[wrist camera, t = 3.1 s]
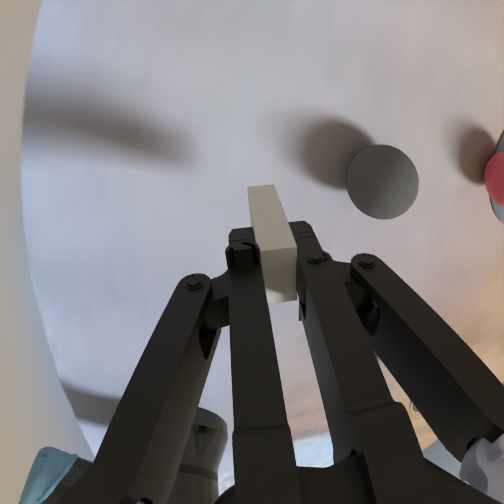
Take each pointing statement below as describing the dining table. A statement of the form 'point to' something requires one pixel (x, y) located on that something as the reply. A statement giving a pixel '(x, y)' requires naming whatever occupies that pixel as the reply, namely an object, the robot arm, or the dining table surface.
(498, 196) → the cranberry ball
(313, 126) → the dining table surface
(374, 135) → the dining table surface
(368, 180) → the grey ball
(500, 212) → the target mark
